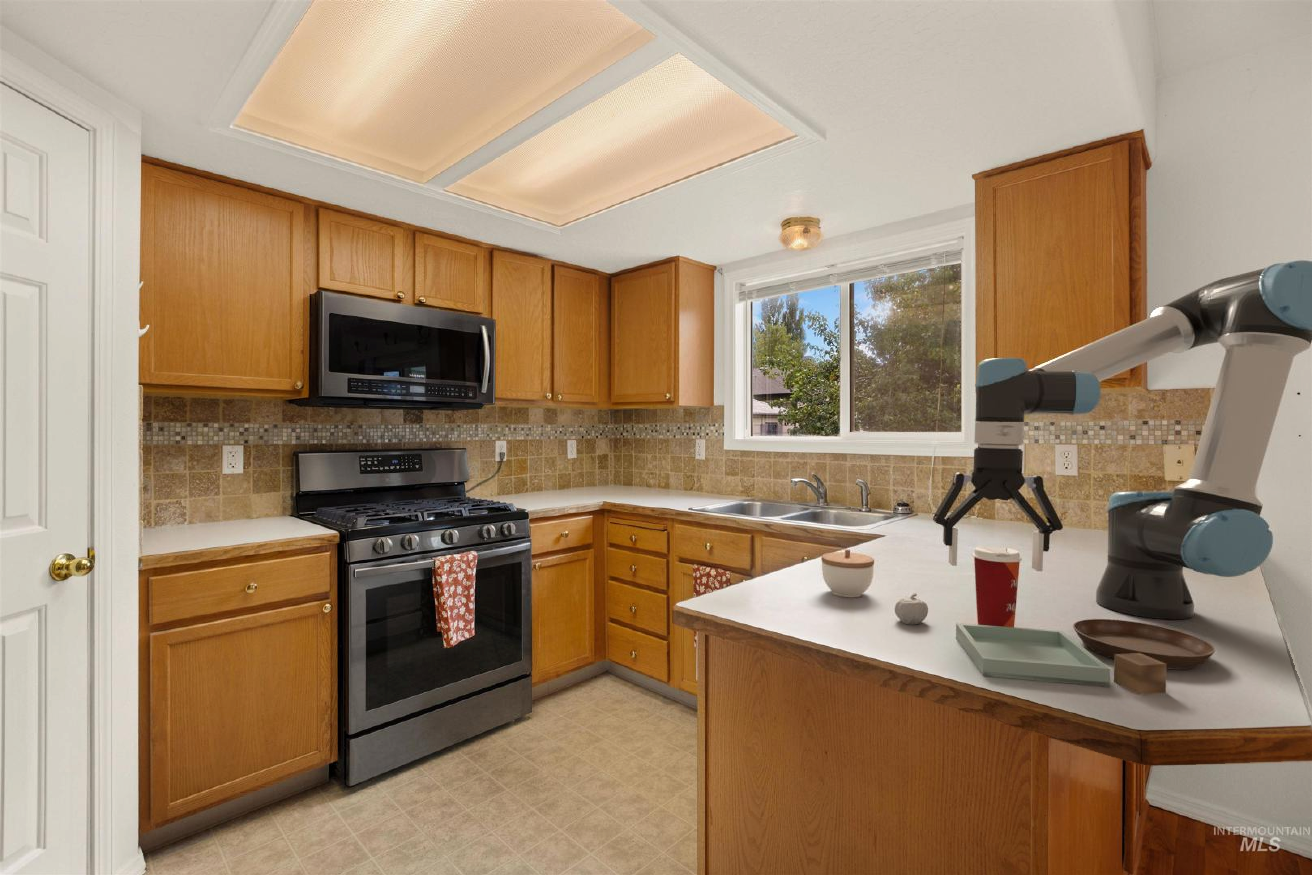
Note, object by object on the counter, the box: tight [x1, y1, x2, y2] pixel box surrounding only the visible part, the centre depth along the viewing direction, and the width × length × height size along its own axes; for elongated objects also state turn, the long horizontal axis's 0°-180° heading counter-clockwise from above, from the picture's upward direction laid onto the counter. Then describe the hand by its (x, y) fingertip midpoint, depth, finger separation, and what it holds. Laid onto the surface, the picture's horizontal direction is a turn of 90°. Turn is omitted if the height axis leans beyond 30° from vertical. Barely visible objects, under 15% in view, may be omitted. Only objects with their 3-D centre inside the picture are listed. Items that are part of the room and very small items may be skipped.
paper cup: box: [971, 545, 1023, 627], centre depth 109 cm, size 8×8×14 cm
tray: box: [955, 622, 1111, 688], centre depth 95 cm, size 16×16×2 cm
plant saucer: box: [1072, 618, 1216, 670], centre depth 98 cm, size 18×18×3 cm
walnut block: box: [1113, 653, 1167, 695], centre depth 85 cm, size 4×4×4 cm
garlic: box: [894, 593, 929, 625], centre depth 113 cm, size 6×5×5 cm
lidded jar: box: [820, 548, 875, 598], centre depth 131 cm, size 11×11×9 cm
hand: (994, 566), depth 109 cm, fingers open, 13 cm apart
